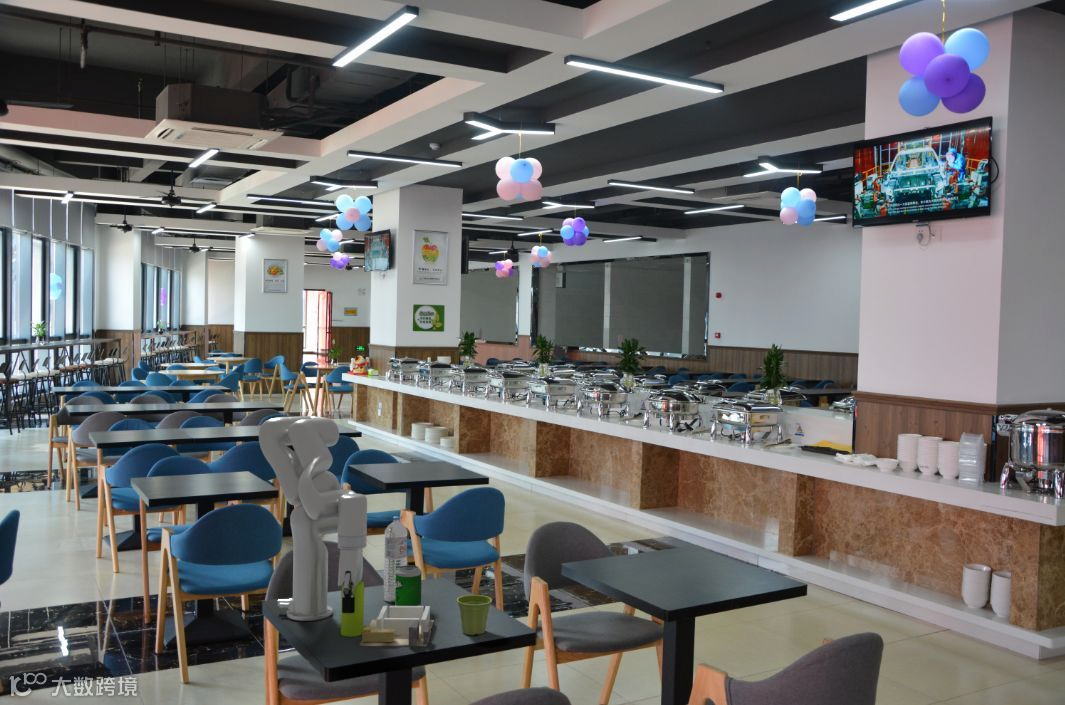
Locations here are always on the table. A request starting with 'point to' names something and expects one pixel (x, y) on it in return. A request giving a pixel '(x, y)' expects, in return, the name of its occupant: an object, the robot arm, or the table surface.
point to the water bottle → (394, 556)
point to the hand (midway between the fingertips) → (351, 607)
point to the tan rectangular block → (378, 635)
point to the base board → (405, 636)
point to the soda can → (408, 586)
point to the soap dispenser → (354, 614)
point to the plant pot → (474, 613)
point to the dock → (403, 618)
